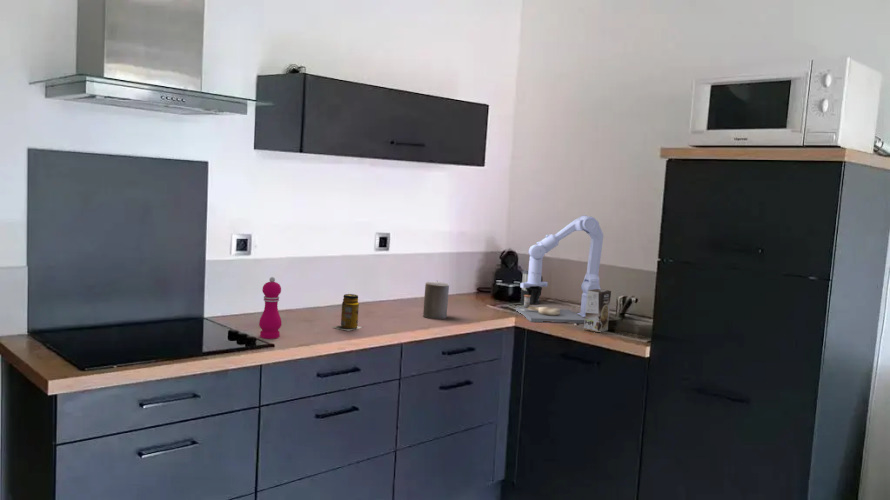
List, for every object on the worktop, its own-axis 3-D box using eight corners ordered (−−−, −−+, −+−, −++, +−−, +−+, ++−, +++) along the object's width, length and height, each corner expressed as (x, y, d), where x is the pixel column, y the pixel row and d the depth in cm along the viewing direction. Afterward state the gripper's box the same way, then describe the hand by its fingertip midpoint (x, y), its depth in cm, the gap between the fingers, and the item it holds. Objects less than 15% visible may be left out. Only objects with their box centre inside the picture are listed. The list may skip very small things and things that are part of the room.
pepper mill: (254, 337, 238) (256, 277, 236) (267, 333, 245) (269, 274, 243) (272, 340, 236) (275, 279, 234) (285, 336, 243) (287, 277, 241)
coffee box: (598, 333, 282) (601, 292, 280) (583, 330, 286) (586, 290, 284) (608, 330, 289) (611, 290, 288) (593, 327, 293) (596, 288, 291)
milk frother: (537, 305, 338) (540, 274, 337) (504, 301, 343) (506, 270, 341) (542, 301, 352) (544, 270, 350) (510, 297, 356) (512, 267, 355)
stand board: (567, 312, 324) (568, 308, 324) (586, 323, 300) (587, 319, 300) (515, 310, 320) (516, 307, 320) (530, 321, 296) (531, 317, 296)
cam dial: (561, 313, 311) (563, 297, 311) (556, 316, 303) (558, 300, 302) (525, 308, 317) (527, 293, 317) (520, 311, 309) (521, 296, 308)
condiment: (362, 327, 264) (364, 295, 263) (348, 331, 257) (350, 297, 256) (346, 324, 268) (347, 292, 267) (332, 328, 260) (333, 295, 259)
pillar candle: (423, 318, 289) (426, 281, 287) (422, 313, 298) (425, 277, 297) (447, 320, 289) (450, 283, 288) (446, 315, 299) (448, 279, 298)
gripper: (540, 270, 322) (538, 301, 323) (516, 271, 313) (514, 302, 314) (551, 273, 316) (549, 303, 318) (527, 274, 307) (525, 305, 309)
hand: (532, 303), depth 316 cm, fingers closed
